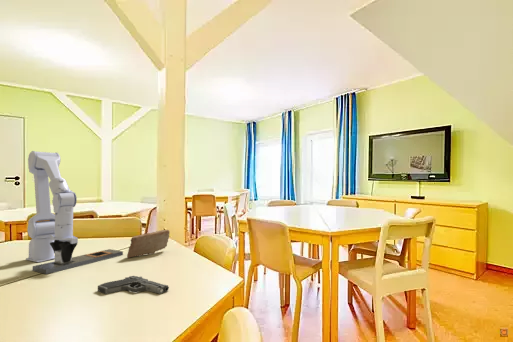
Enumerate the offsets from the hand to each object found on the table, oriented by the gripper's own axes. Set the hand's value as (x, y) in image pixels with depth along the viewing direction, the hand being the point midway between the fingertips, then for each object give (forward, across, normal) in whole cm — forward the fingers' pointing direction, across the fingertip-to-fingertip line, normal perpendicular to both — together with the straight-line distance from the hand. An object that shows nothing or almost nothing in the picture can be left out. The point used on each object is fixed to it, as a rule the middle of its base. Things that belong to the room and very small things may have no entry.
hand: (63, 261), depth 110 cm
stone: (+2, +14, +28) cm, 31 cm away
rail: (+2, 0, +7) cm, 7 cm away
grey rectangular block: (+2, 0, 0) cm, 2 cm away
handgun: (+3, +44, -4) cm, 44 cm away
